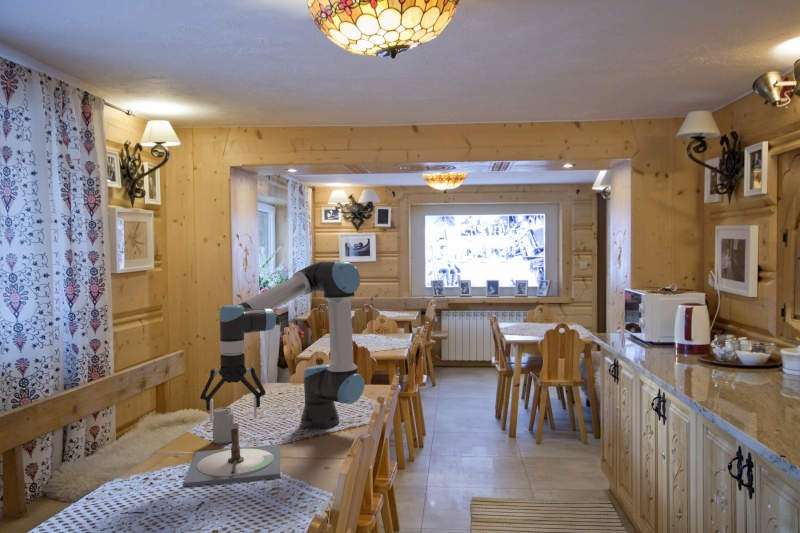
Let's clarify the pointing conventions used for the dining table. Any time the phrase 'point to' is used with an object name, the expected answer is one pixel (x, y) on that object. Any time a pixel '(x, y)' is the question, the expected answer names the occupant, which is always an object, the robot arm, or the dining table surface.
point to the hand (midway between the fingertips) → (233, 418)
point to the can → (222, 425)
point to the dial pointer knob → (235, 447)
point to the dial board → (254, 467)
